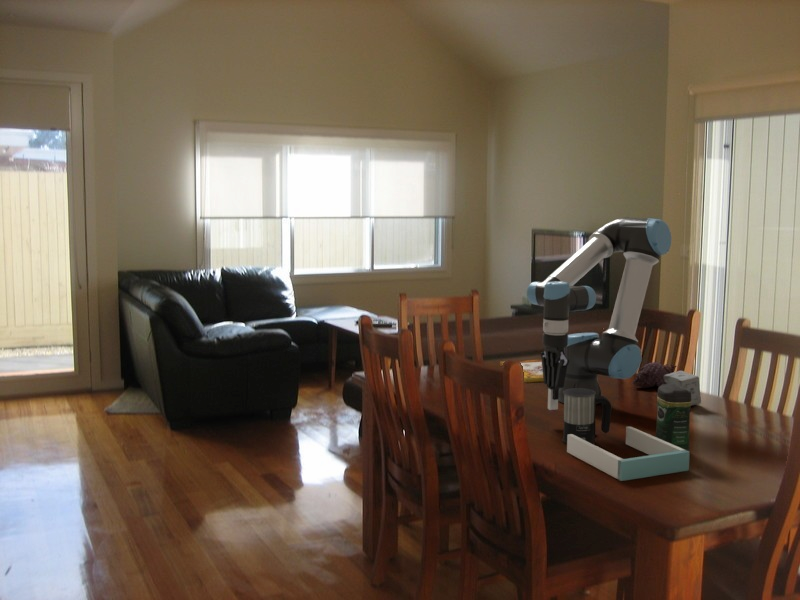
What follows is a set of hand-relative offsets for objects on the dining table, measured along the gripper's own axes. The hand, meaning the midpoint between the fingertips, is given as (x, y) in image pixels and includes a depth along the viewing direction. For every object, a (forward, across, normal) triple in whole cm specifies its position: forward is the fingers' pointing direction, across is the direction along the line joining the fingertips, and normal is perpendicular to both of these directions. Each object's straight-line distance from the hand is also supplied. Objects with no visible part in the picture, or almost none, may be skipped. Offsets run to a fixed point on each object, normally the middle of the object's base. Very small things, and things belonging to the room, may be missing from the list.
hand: (552, 409), depth 259 cm
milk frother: (+5, +14, 0) cm, 15 cm away
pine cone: (+4, -28, +60) cm, 67 cm away
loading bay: (+5, +36, 0) cm, 36 cm away
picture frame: (+5, -64, +36) cm, 74 cm away
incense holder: (+5, -5, +53) cm, 54 cm away
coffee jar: (+5, +34, +17) cm, 38 cm away
